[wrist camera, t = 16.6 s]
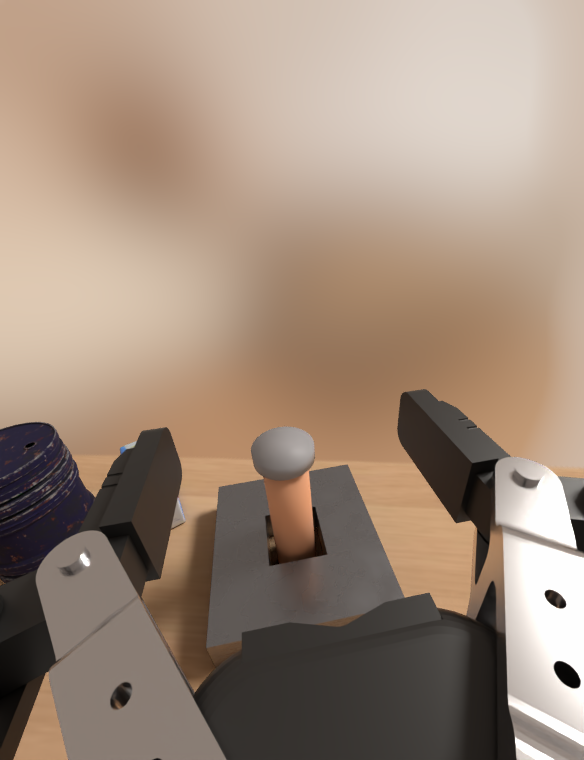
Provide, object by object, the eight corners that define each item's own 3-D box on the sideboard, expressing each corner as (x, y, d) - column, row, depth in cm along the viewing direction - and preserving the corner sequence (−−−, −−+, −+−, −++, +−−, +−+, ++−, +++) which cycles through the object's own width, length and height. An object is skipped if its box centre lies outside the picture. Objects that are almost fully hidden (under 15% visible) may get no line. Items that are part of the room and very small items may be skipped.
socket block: (215, 668, 25) (206, 648, 24) (224, 506, 39) (218, 487, 38) (403, 626, 27) (407, 604, 25) (347, 484, 41) (347, 464, 39)
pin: (274, 586, 30) (252, 474, 23) (270, 538, 35) (250, 431, 28) (327, 576, 31) (320, 462, 24) (315, 529, 35) (307, 422, 28)
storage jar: (-8, 617, 30) (-117, 514, 23) (31, 532, 39) (-41, 437, 31) (104, 578, 33) (36, 473, 26) (118, 506, 41) (69, 412, 34)
